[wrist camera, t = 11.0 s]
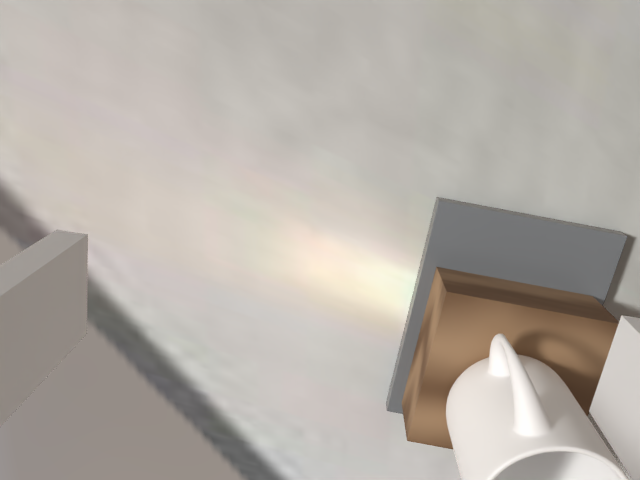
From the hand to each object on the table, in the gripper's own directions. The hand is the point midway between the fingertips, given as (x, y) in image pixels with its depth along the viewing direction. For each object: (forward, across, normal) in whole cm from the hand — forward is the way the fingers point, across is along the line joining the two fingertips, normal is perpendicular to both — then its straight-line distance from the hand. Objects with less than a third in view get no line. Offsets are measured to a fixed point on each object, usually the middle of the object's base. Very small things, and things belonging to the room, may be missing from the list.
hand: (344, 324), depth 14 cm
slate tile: (+30, +14, -13) cm, 35 cm away
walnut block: (+28, +14, -15) cm, 35 cm away
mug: (+24, +13, -14) cm, 31 cm away
